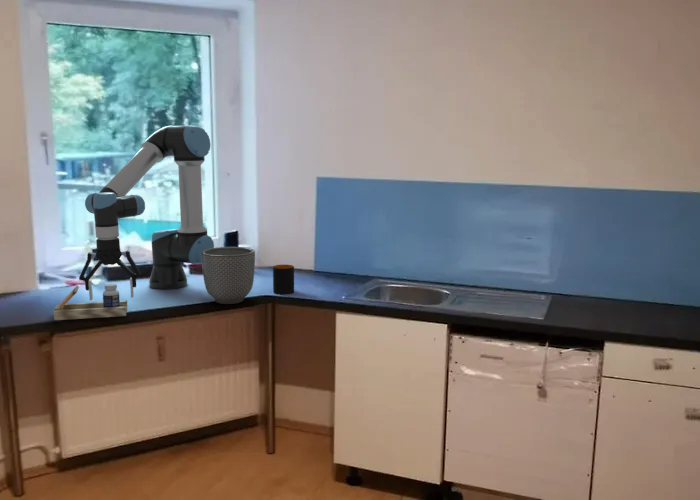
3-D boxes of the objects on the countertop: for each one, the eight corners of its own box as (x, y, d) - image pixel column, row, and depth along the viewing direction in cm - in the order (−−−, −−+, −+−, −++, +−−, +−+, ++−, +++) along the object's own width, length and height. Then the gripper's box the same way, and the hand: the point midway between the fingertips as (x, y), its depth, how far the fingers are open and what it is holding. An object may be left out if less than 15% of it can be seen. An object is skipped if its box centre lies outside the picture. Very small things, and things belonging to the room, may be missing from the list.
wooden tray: (127, 308, 247) (126, 299, 246) (126, 315, 237) (125, 306, 237) (58, 312, 241) (57, 302, 240) (54, 320, 232) (53, 310, 231)
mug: (289, 287, 282) (289, 262, 280) (296, 293, 271) (296, 268, 269) (269, 288, 279) (268, 263, 278) (275, 295, 268) (275, 269, 266)
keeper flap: (79, 287, 241) (77, 285, 240) (76, 292, 233) (74, 291, 232) (65, 301, 240) (62, 300, 240) (61, 307, 232) (59, 306, 232)
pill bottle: (114, 314, 238) (113, 286, 236) (100, 313, 239) (99, 286, 237) (123, 310, 243) (121, 283, 241) (109, 309, 244) (107, 282, 242)
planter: (229, 292, 273) (228, 244, 269) (266, 299, 262) (266, 250, 258) (191, 302, 257) (189, 251, 253) (229, 310, 246) (228, 257, 242)
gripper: (145, 234, 243) (149, 292, 247) (70, 237, 237) (75, 297, 241) (145, 238, 236) (148, 297, 240) (67, 241, 230) (72, 303, 234)
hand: (112, 297), depth 240 cm, fingers open, 13 cm apart
